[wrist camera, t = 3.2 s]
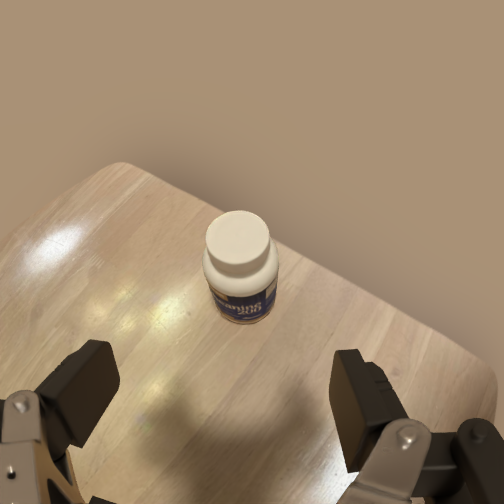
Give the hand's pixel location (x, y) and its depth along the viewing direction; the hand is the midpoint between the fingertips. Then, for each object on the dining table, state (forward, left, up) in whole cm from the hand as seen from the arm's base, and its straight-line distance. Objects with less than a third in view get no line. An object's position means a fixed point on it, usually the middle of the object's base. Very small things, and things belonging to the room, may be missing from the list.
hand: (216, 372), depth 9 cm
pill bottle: (0, -9, -15) cm, 17 cm away
